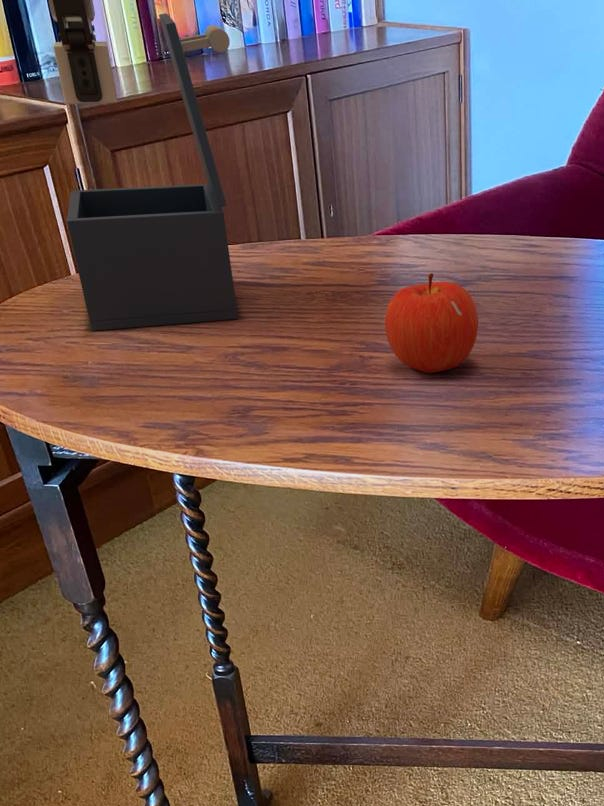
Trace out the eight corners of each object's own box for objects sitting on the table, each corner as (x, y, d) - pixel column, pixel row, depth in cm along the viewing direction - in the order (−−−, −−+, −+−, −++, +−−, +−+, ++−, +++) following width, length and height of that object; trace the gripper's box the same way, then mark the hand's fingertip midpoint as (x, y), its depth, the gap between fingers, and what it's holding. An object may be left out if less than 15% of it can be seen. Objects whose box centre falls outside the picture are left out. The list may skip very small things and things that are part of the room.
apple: (496, 369, 85) (498, 275, 80) (422, 389, 80) (419, 292, 76) (442, 344, 90) (441, 255, 85) (369, 363, 86) (364, 270, 81)
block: (65, 104, 85) (53, 46, 82) (67, 98, 88) (55, 42, 86) (117, 102, 86) (106, 45, 84) (117, 96, 90) (106, 41, 87)
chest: (91, 331, 92) (66, 220, 86) (93, 290, 102) (71, 190, 97) (238, 318, 95) (223, 212, 89) (225, 281, 106) (211, 183, 100)
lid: (165, 24, 80) (226, 12, 81) (158, 14, 91) (212, 4, 92) (218, 207, 89) (273, 195, 90) (206, 179, 100) (255, 169, 101)
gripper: (-1, -141, 82) (50, 89, 92) (-18, -154, 71) (42, 109, 81) (92, -138, 84) (132, 87, 94) (89, -150, 73) (135, 107, 83)
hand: (90, 96), depth 87 cm, fingers closed on block, 4 cm apart
